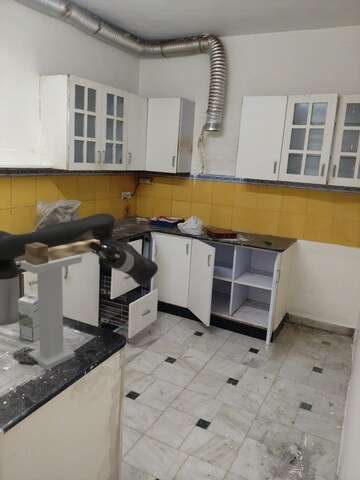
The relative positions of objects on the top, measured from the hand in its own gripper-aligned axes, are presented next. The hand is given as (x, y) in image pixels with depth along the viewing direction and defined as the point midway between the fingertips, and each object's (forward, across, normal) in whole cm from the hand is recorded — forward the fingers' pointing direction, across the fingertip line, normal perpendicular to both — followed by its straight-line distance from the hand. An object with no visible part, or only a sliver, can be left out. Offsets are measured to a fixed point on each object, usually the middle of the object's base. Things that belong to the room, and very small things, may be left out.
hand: (85, 242), depth 122 cm
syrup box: (-8, +16, -36) cm, 40 cm away
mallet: (+5, 0, -6) cm, 8 cm away
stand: (-6, 0, -37) cm, 37 cm away
